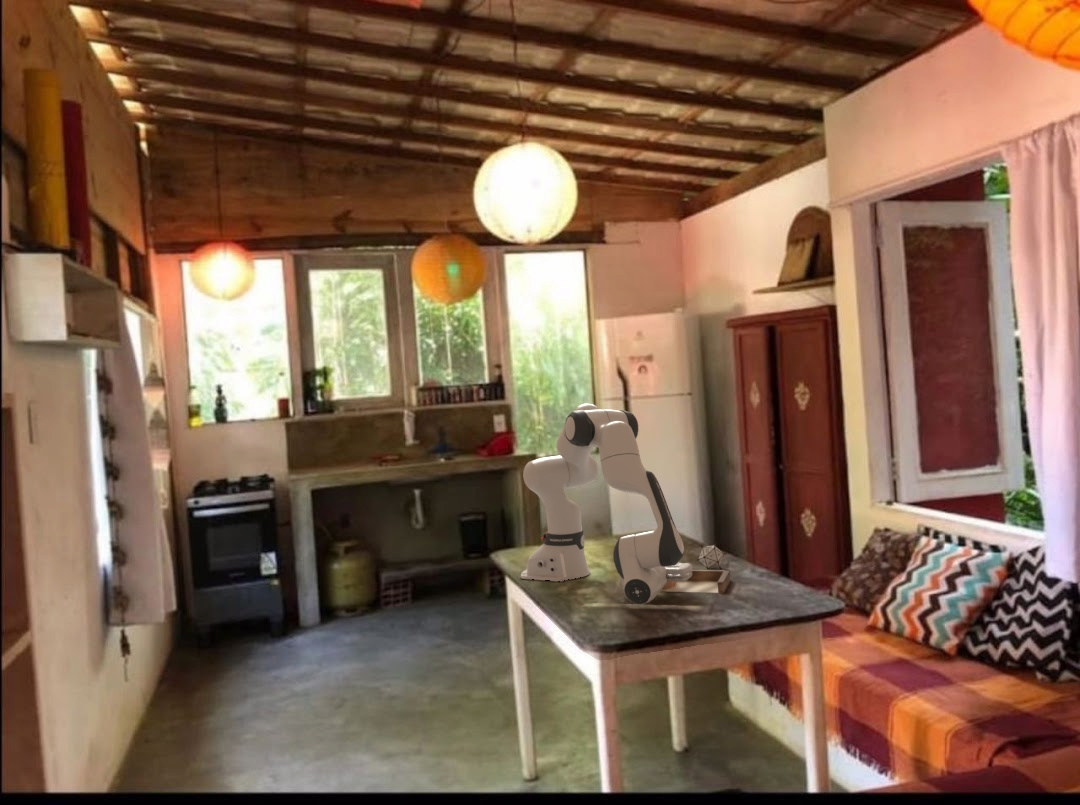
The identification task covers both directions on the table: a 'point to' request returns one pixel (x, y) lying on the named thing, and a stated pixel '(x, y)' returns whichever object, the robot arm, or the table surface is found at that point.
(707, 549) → the game die
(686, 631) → the table surface
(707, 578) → the board
